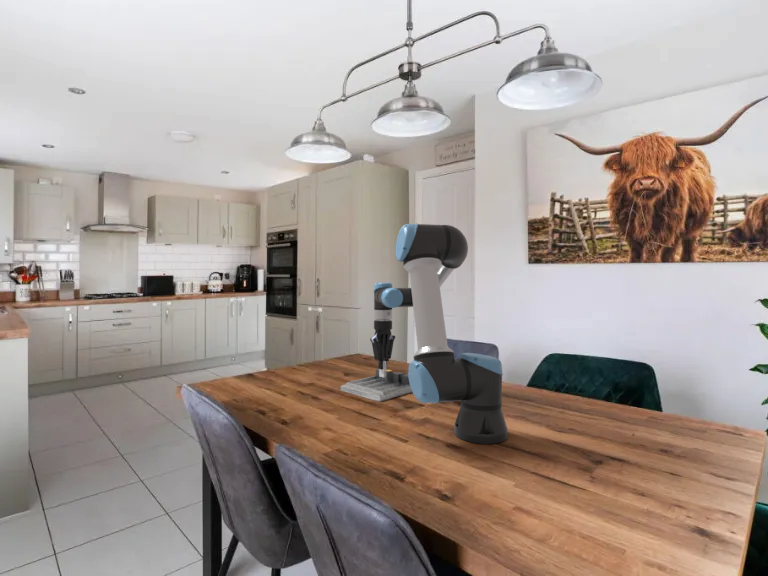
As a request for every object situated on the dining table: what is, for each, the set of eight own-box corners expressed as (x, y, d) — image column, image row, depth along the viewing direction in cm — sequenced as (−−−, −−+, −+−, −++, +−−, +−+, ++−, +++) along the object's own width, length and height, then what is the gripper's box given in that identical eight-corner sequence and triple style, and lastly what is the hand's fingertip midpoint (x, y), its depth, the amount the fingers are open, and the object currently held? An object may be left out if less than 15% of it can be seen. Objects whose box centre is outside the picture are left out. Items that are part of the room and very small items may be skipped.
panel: (379, 401, 158) (379, 385, 158) (340, 390, 173) (340, 375, 173) (424, 388, 177) (424, 374, 177) (385, 379, 192) (385, 366, 192)
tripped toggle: (386, 382, 178) (386, 371, 178) (381, 380, 180) (381, 370, 180) (393, 380, 181) (393, 370, 181) (388, 379, 183) (388, 369, 183)
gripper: (378, 321, 171) (378, 380, 171) (400, 319, 180) (400, 375, 181) (365, 320, 176) (365, 377, 176) (387, 318, 185) (386, 372, 186)
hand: (382, 376), depth 179 cm, fingers closed
